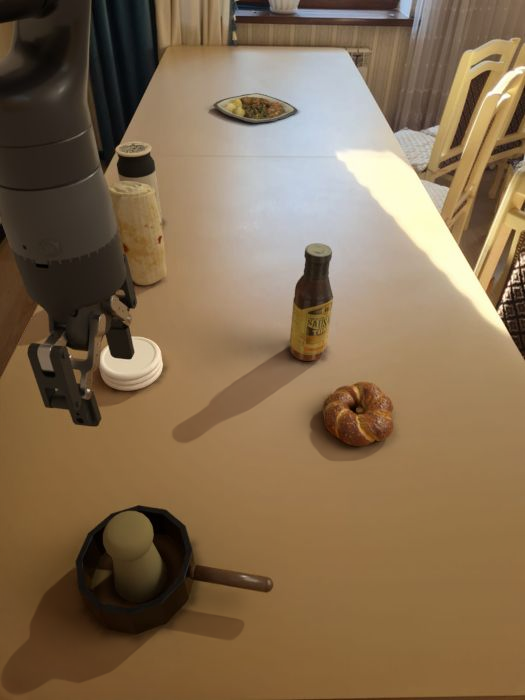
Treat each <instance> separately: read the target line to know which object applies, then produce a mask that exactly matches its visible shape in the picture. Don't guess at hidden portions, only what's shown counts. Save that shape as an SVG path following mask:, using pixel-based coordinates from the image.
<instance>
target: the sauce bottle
mask: <svg viewBox="0 0 525 700" xmlns="http://www.w3.org/2000/svg"><path fill="white" fill-rule="evenodd" d="M332 258H333V250H332V247H330V246H329V245H327V244H324V243H318V242H313V243H310V244H308V245H307V246H306V247H305V249H304V259H305V261H304V268H303V274H302V275H301V276H300V278H299V279H298V280H297V282H296V284H295V288H294V296H293V302H292V312H291V313H292V314H291V324H290V334H289V335H290V336H289V344H290V345H289V351H290V353H291V354H292V356H293V357H294V358H296V359H298V360H300V361H305V362H312V361H317V360H319V359H321V358H322V356H323V355H324V353H325V352H326V348H327V344H328V337H329V332H330V331H329V330H330V323H331V316H332V310H333V309H332V308H333V303H334V302H333V301H334V295H333V290H332V287H331V282H330V276H329V275H330V271H329V270H330V262H331V260H332Z"/></svg>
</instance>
